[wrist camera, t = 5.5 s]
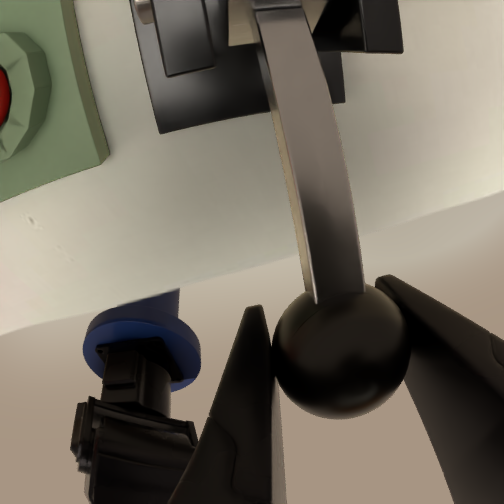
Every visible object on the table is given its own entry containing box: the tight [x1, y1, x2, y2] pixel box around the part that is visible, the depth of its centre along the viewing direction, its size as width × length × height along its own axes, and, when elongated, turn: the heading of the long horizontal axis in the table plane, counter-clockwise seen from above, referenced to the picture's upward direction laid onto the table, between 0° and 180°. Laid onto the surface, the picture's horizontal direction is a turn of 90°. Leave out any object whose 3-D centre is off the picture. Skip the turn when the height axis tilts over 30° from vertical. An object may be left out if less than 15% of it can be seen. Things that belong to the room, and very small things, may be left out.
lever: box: [217, 0, 411, 419], centre depth 6 cm, size 12×3×3 cm, turn 10°
